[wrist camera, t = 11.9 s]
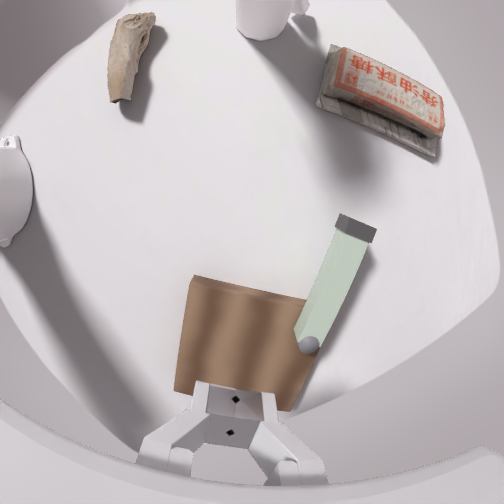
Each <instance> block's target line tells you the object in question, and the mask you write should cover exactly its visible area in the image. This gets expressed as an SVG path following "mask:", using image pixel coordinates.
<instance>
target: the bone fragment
mask: <svg viewBox="0 0 504 504" xmlns="http://www.w3.org/2000/svg"><path fill="white" fill-rule="evenodd" d="M155 22H156V17H155V15H154V13H153V12H150V13H142V14H141V13H139V14H128V15H125V16H124V17H123V18H122V19H120V20H118V21H117V23H116V28H115V32H114V36H113V39H112V41H111V43H110V50H109V58H108V89H109V95H110V102H113V103H117V102H119V101H120V100H122V98H123V99H127V100H128V101H131V93H132V90H133V83H134V78H135V74H136V73H138V63H139V59H140V56H141V55H142V53H143V51H144V50H145V48H146V47H147V45H148V42H149V37H150V35H149V34H150V30H151V28H152V27H153V25H154V24H155Z"/></svg>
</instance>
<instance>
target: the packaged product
mask: <svg viewBox="0 0 504 504" xmlns="http://www.w3.org/2000/svg"><path fill="white" fill-rule="evenodd" d="M316 106H317V107H318V108H321V109H324V110H327V111H330V112H333V113H335V114H339V115H341V116H343V117H346V118H348V119H350V120H352V121H355V122H357V123H359V124H361V125H364V126H366V127H369V128H371V129H373V130H375V131H377V132H380V133H382V134H384V135H386V136H388V137H390V138H392V139H394V140H397V141H399V142H401V143H403V144H405V145H407V146H409V147H412V148H414V149H416V150H418V151H420V152H422V153H424V154H426V155H429V156H433V157H435V155H436V148H437V141H438V139H440V138H442V134H443V130H444V127H445V118H444V110H443V106H444V105H443V101H442V97H441V96H440V95H438V94H436V93H435V92H434V91H432V90H431V89H429V88H427V87H426V86H424V85H422V84H421V83H419V82H417V81H415V80H413V79H411V78H410V77H408V76H406V75H404V74H402V73H400V72H399V71H397V70H395V69H393V68H391V67H389V66H387V65H385V64H383V63H381V62H378V61H376V60H374V59H372V58H370V57H367V56H365V55H363V54H361V53H358V52H356V51H353V50H351V49H349V48H345V47H343V48H341V47H338V46H335V45H332V44H331V45H330V49H329V52H328V56H327V60H326V63H325V69H324V74H323V80H322V84H321V87H320V91H319V95H318V98H317V102H316Z"/></svg>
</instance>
